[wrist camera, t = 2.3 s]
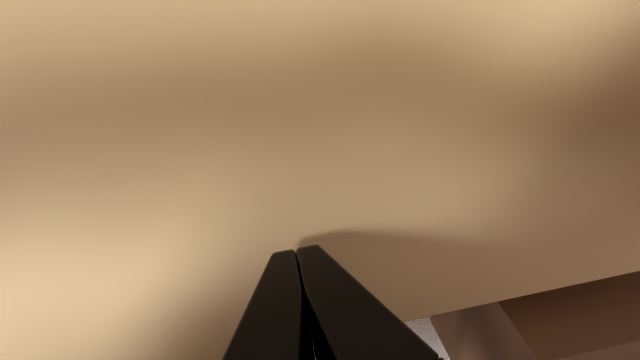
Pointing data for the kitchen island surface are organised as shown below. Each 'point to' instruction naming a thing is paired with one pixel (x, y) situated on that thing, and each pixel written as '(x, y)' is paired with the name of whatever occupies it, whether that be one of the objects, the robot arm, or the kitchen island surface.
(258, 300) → the robot arm
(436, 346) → the kitchen island surface
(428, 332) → the kitchen island surface
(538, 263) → the plank
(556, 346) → the block
